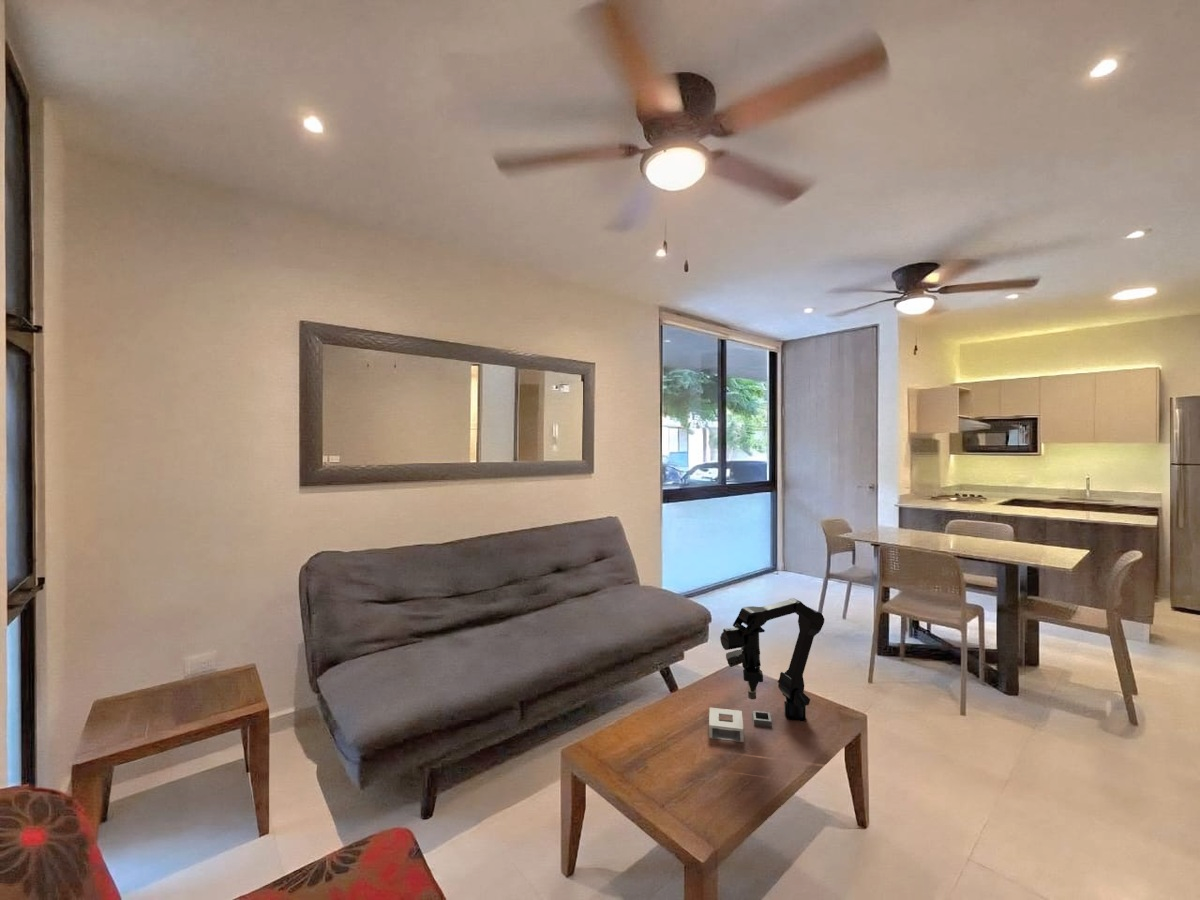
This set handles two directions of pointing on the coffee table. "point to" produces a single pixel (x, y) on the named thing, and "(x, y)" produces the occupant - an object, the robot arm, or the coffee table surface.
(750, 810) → the coffee table surface
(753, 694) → the beige rounded rod
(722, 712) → the breaker box
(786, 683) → the robot arm
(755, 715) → the holder
